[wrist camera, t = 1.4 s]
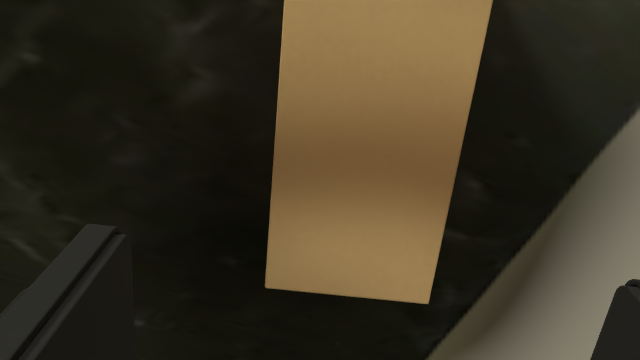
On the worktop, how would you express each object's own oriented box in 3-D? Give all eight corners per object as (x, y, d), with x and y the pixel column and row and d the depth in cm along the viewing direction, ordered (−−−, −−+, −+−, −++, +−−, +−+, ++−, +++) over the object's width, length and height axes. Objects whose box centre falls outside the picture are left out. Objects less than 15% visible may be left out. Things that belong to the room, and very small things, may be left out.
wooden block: (297, -72, 20) (288, -74, 16) (477, -52, 20) (504, -52, 16) (274, 243, 25) (264, 288, 22) (417, 258, 25) (428, 305, 22)
